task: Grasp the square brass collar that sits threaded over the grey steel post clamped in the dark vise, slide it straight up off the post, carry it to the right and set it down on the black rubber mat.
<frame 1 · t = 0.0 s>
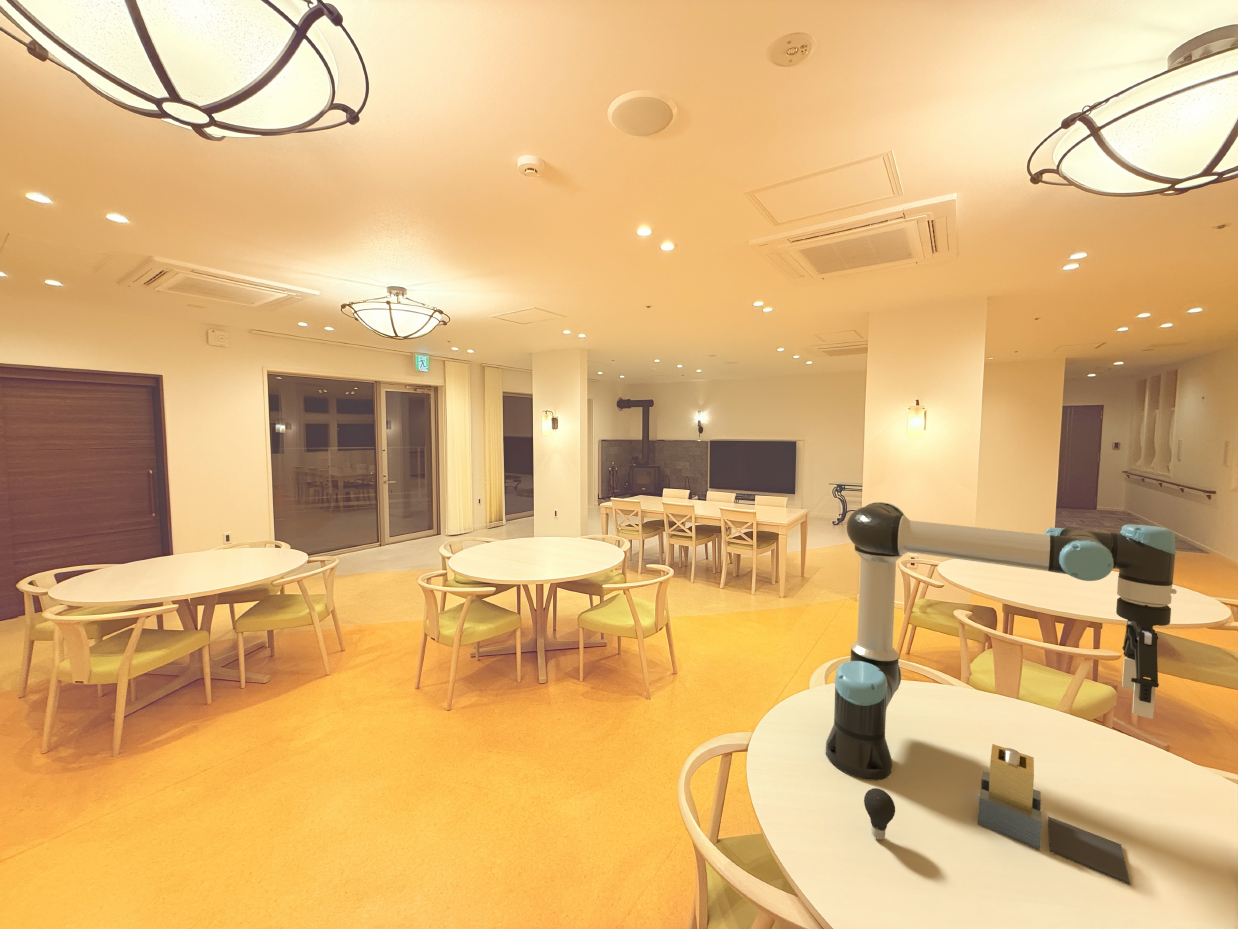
hand: (1136, 701, 100), 28 cm above the table, fingers open, 13 cm apart
brass collar: (1010, 794, 103), point 6 cm above the table, touching vise
light bulb: (878, 839, 99), on the table
mat: (1085, 849, 96), on the table
vise: (1008, 821, 103), on the table
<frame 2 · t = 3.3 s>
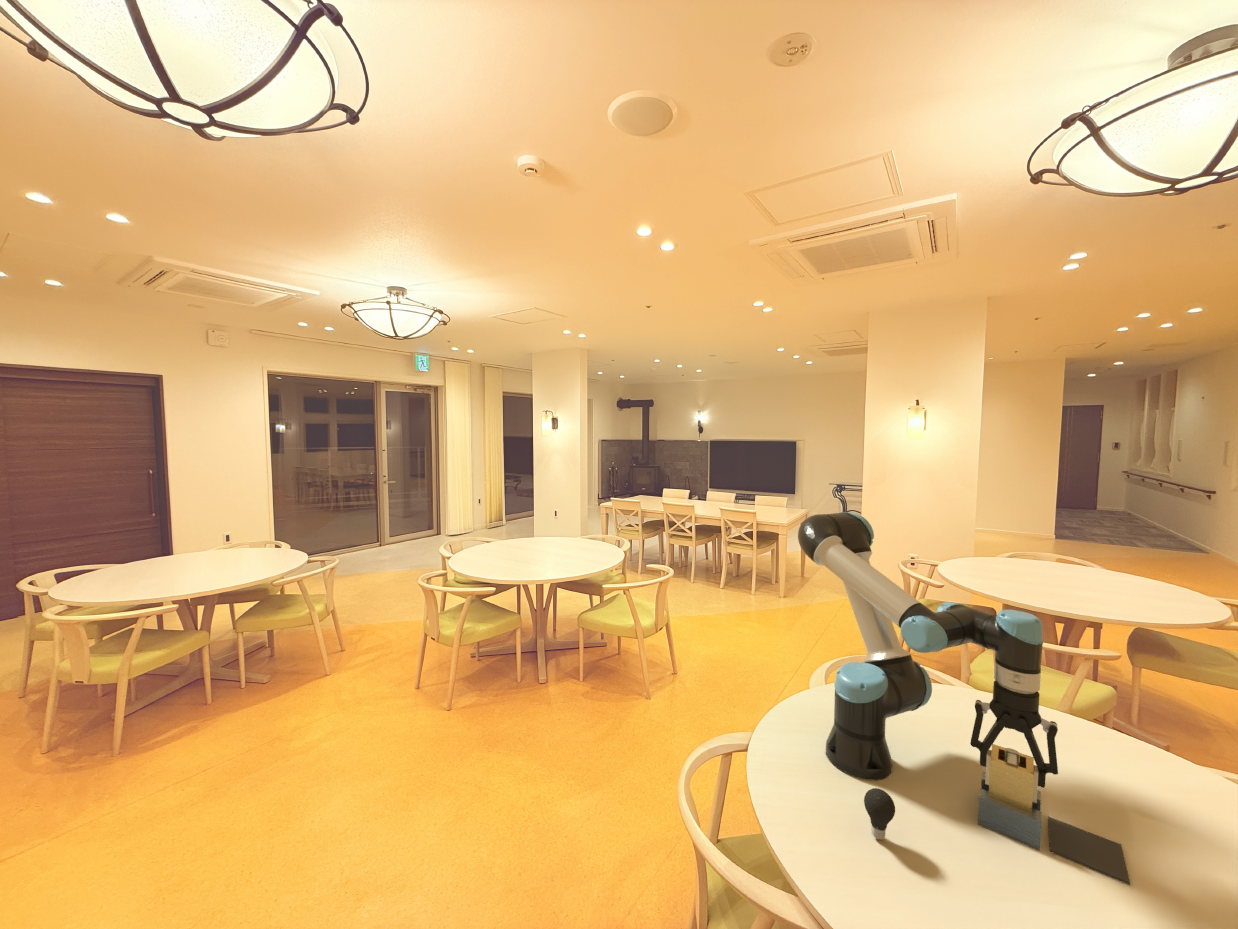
hand: (1010, 789, 103), 7 cm above the table, fingers closed on brass collar, 7 cm apart
brass collar: (1010, 794, 103), point 6 cm above the table, touching gripper, vise
everything else where it was.
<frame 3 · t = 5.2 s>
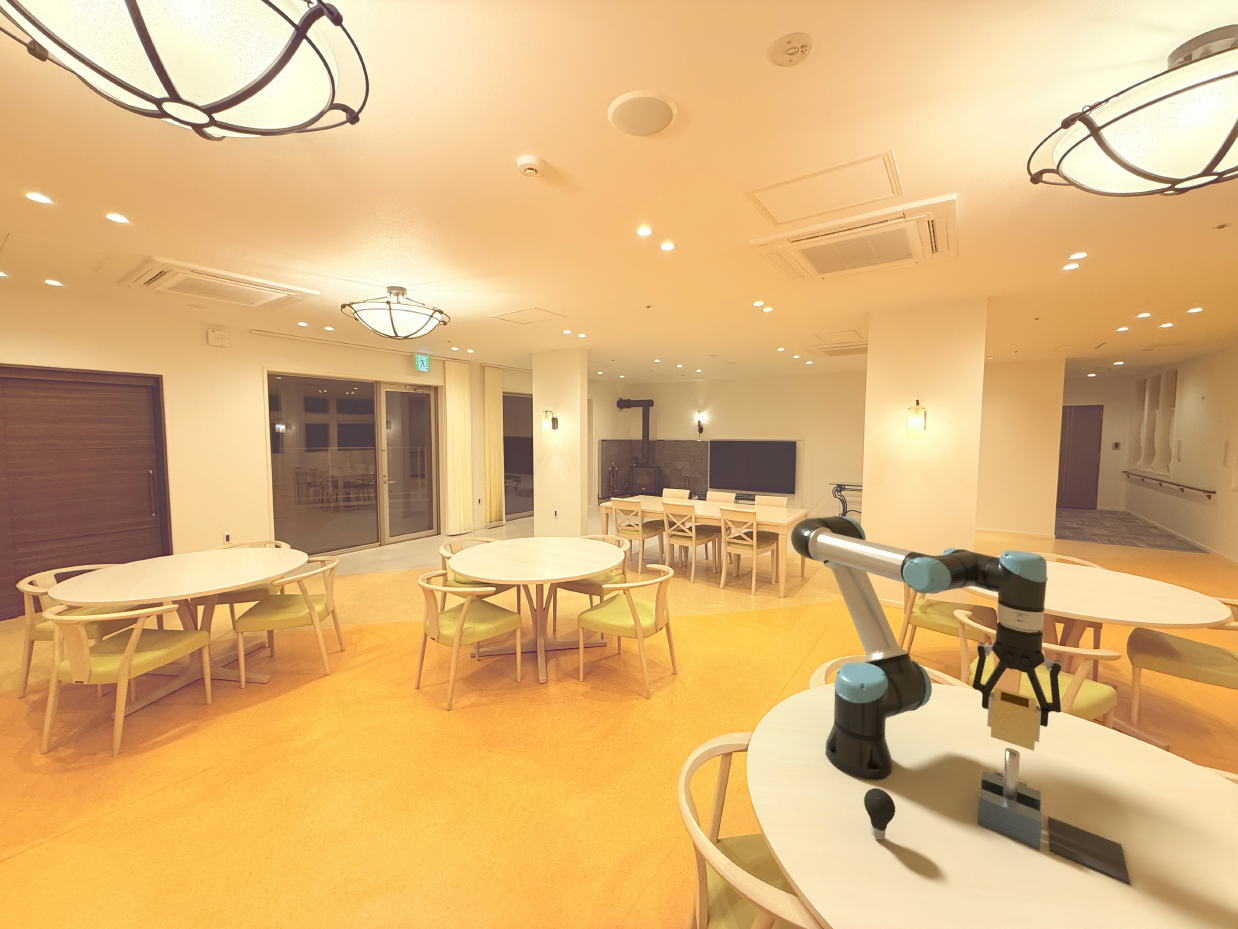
hand: (1012, 730, 102), 20 cm above the table, fingers closed on brass collar, 7 cm apart
brass collar: (1012, 735, 102), point 19 cm above the table, touching gripper
everything else where it was.
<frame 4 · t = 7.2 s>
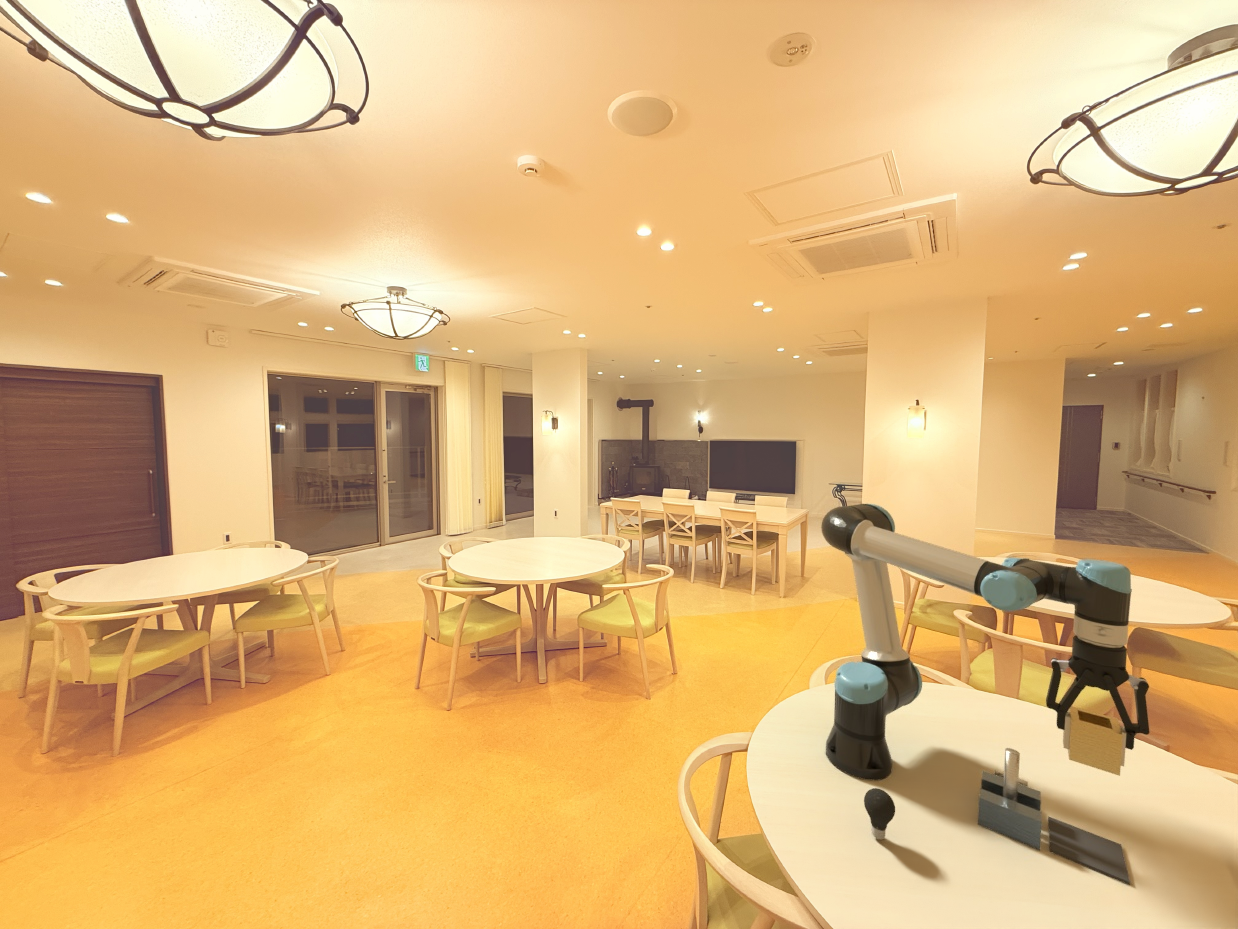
hand: (1092, 753, 95), 20 cm above the table, fingers closed on brass collar, 7 cm apart
brass collar: (1092, 758, 95), point 19 cm above the table, touching gripper
everything else where it was.
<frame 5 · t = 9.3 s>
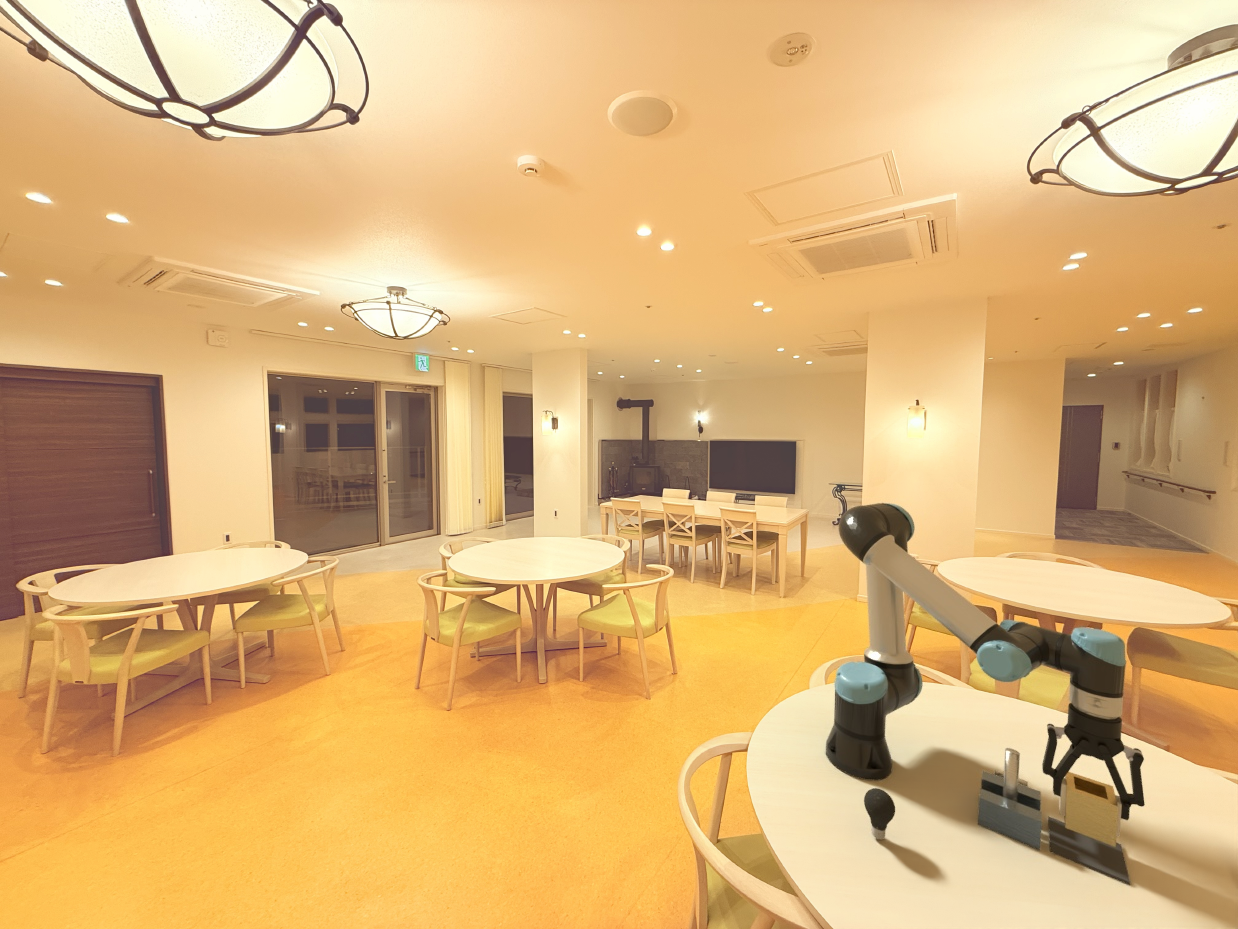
hand: (1088, 821, 96), 6 cm above the table, fingers closed on brass collar, 7 cm apart
brass collar: (1088, 826, 96), point 5 cm above the table, touching gripper
everything else where it was.
when the fingers open (3 cm above the table, at t = 10.9 s): brass collar drops 1 cm, resting on mat.
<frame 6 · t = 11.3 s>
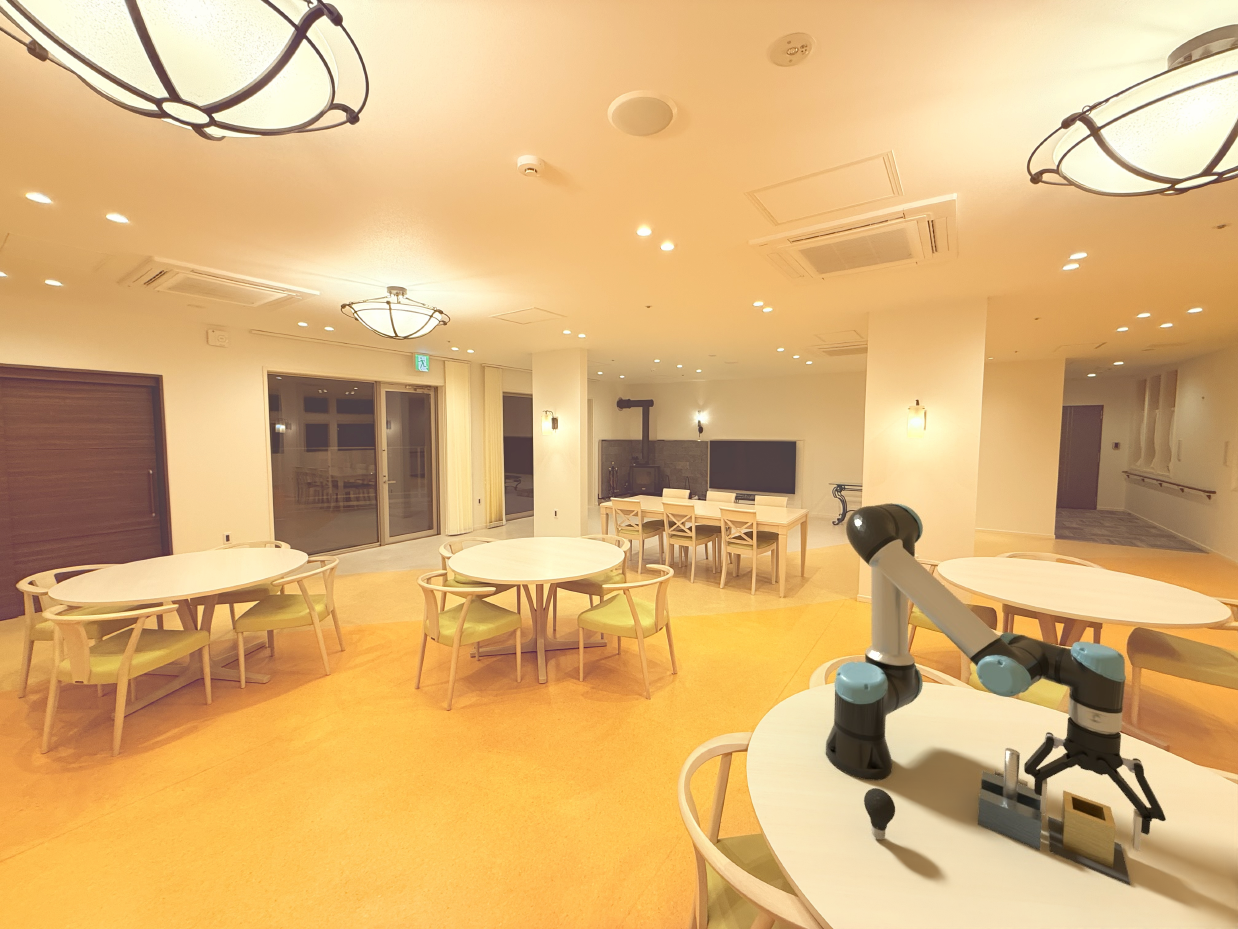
hand: (1087, 827, 96), 5 cm above the table, fingers open, 13 cm apart
brass collar: (1085, 846, 96), point 1 cm above the table, touching mat
everything else where it was.
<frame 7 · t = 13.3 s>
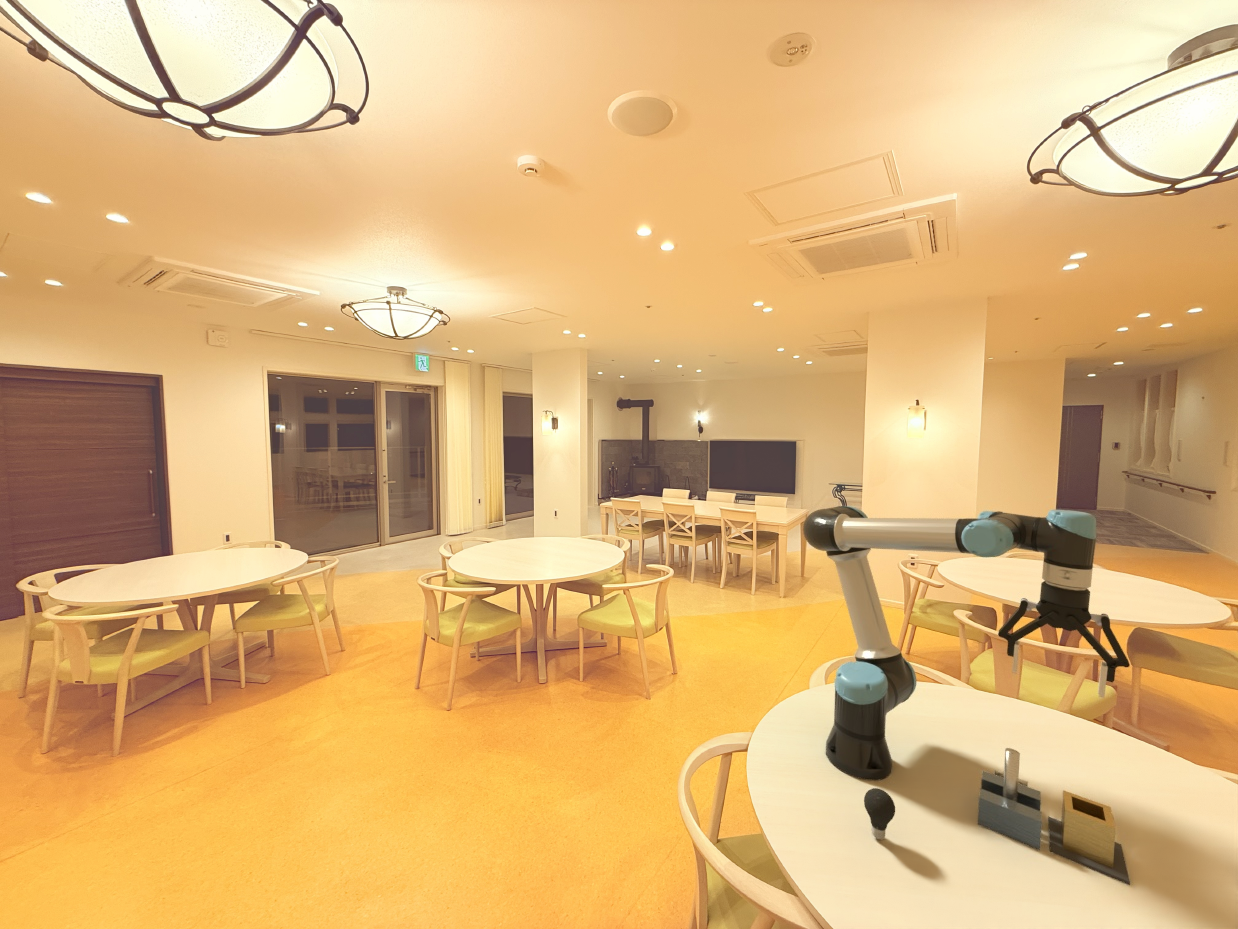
hand: (1055, 682, 102), 31 cm above the table, fingers open, 13 cm apart
nothing on the table moved.
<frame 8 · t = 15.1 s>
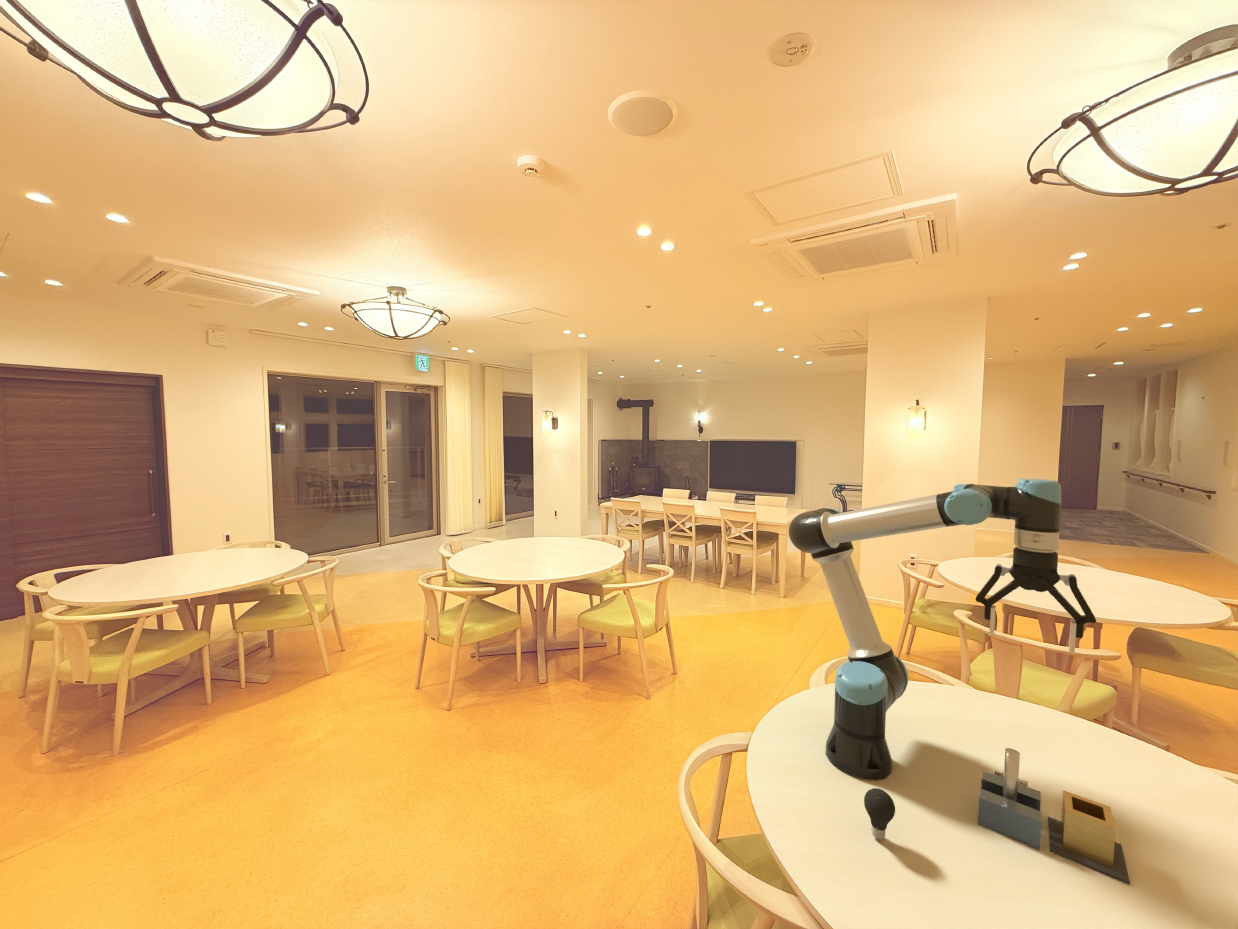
hand: (1030, 642, 108), 37 cm above the table, fingers open, 13 cm apart
nothing on the table moved.
at the end: brass collar inside the target area on the mat (0.0 cm from its centre), point 0.6 cm above the mat's base; brass collar tilted 0°; the gripper is holding nothing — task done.
